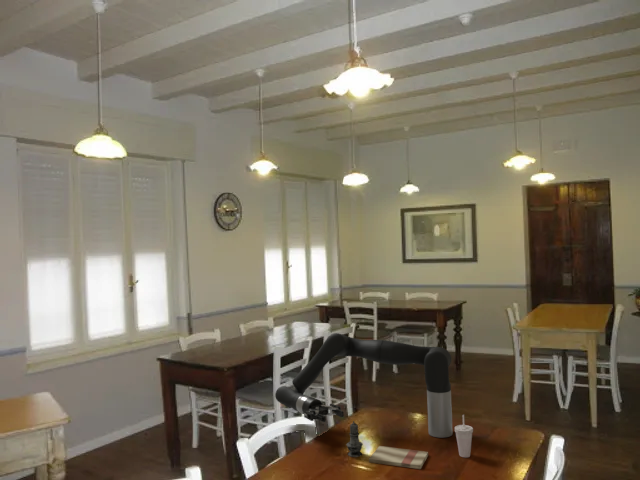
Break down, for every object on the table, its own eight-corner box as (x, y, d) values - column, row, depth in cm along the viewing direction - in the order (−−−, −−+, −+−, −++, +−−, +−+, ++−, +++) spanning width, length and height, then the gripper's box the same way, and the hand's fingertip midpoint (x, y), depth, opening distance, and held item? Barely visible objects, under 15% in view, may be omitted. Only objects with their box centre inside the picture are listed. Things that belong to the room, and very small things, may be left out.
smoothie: (474, 452, 192) (473, 413, 192) (473, 459, 186) (472, 419, 186) (456, 450, 194) (454, 412, 194) (454, 458, 188) (453, 417, 188)
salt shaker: (362, 457, 191) (360, 424, 191) (345, 457, 193) (344, 423, 192) (364, 451, 197) (362, 418, 197) (348, 450, 198) (346, 418, 198)
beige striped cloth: (379, 449, 198) (379, 445, 198) (428, 455, 191) (428, 451, 191) (369, 462, 187) (368, 458, 187) (420, 469, 180) (420, 465, 180)
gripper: (294, 400, 213) (318, 411, 200) (323, 393, 221) (348, 403, 208) (294, 419, 213) (319, 431, 200) (323, 412, 221) (348, 422, 208)
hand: (334, 416), depth 204 cm, fingers open, 8 cm apart
